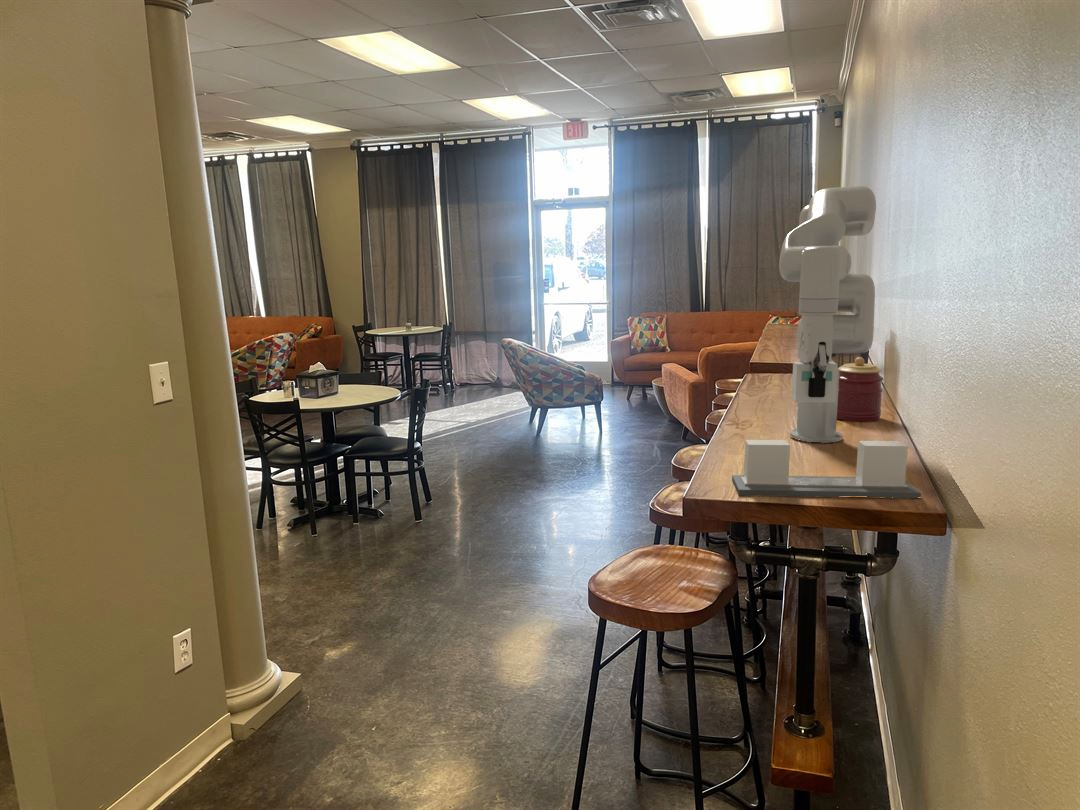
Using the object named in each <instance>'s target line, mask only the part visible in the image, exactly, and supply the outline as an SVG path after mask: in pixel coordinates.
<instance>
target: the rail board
mask: <svg viewBox="0 0 1080 810" xmlns="http://www.w3.org/2000/svg"><path fill="white" fill-rule="evenodd" d="M741 477H744V475H743V474H732V475H731V482H732V483H733V486H734V488H735V490H736V493H737V495H738V496H745V497H746V496H747V497H748V496H749V497H750V496H753V497H795V498H796V497H801V498H802V497H803V498H804V497H807V498H809V497H810V496H811V497H810V498H815V497H816V496H818V497H816V498H840V497H839V496H867V497H888V498H887V499H903V498H918V497H921V498H922V492H921V491H920V490H919V489H917V488H916V487H915V486H914V485H912V484H911V483H910V482H909V481H907V480H906V479H905V484H906V485H907V486H908V489H897V488H838V487H779V486H745V485H744V483H743V481H742V479H741ZM789 477H790V478H855V479H856V476H832V475H831V476H830V475H829V476H826V475H825V476H823V475H822V476H820V475H819V476H818V475H816V476H815V475H789ZM892 497H893V498H892Z"/></svg>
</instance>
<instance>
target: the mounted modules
mask: <svg viewBox="0 0 1080 810" xmlns="http://www.w3.org/2000/svg"><path fill="white" fill-rule="evenodd" d="M744 440H745V441H744V460H745V466H744V465H743V473H744V478H745V480H746V482H747V483H759V484H788V479H789V476H790V456H791V455H790V454H791V453H790V452H791V445H790V443H789V442H788V441H787V440H786V439H744ZM908 449H909V445H906V444H905V443H904V442H902V441H900V440H899V441H898V440H897V441H895V440H858V441H857V456H856V472H855V473H856V474H855V477H856V480H857V481H858V482H859V483H860V484H861V485H880V486H905V480H906V475H907V463H908Z"/></svg>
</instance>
